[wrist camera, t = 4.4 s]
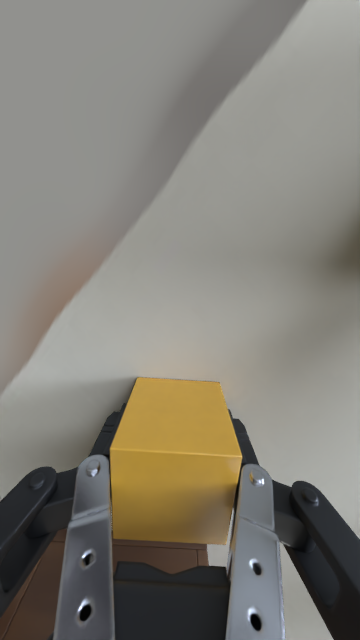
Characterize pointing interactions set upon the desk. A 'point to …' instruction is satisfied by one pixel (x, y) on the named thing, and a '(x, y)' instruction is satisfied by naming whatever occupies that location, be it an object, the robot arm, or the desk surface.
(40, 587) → the chest
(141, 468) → the block
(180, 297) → the desk surface
